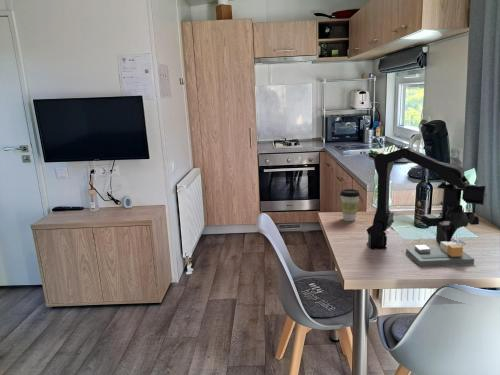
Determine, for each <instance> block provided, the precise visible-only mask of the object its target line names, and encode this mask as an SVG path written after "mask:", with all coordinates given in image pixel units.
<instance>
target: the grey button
mask: <svg viewBox="0 0 500 375" xmlns="http://www.w3.org/2000/svg"><path fill="white" fill-rule="evenodd" d="M414 248H415V250H416V251H417V252H418V253H419V254H421V253H430V248H431V247H429V246H427V245H426V244H420V245H419V244H417V245H415V246H414Z"/></svg>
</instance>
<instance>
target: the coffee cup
mask: <svg viewBox="0 0 500 375" xmlns="http://www.w3.org/2000/svg"><path fill="white" fill-rule="evenodd" d="M339 195H340V201H341V202H340V203H341V211H342V212H341V214H342V220H343V221H346V222H354V221H356V218H357V214H358V208H359V202H360V200H359V198H360V196H361V193H360V191H359V190H357V189H354V188H345V189H342V190H341V191H340V193H339Z"/></svg>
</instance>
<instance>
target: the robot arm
mask: <svg viewBox="0 0 500 375" xmlns="http://www.w3.org/2000/svg"><path fill="white" fill-rule="evenodd" d="M402 159H405V160H408V161H409V162H412V163H414V164H416V165H418V166H420V167H422V168H424V169H427V170H429V171H431V172H432V173H434V174H435V175H436V176H438V178H440V179H441V180H443V181H441V184H439V185H437V189H443V191H442V192H443V193H442V201H440V204H439V205H441V212H439V216H441V217H439V216H436V215H434V214H423V215H422V216H421V217H420V218H421V219H420V222H421V223H423V224H424V225H425V226H427V227H437V226H438V225H440V227H441V229H442V232H443V234H444V237H445V240H446V241H447V242H450V240H451V241H452V238H453V236H454V234H455V233H456V232H457V230H458V229H460V228H463V227H464V228H465V227H466V228H467V227H468V225H471V226H473V225H474V226H475V225H480V217H479V216H477V215H476V214H475V213H474V212H473V211H464V210H463V204H461V200H462V201H463V202H465V203H466V204H472V205H479V206H480V205H481V206H484V205H485V204H486V200H487V185H485V184H471V182H470V181H469V180H468V178H467V177H466V175H465V170H464V169H463V167H461V166H460V165H456V164H452V163H450V162H449V163H447V162H443V161H439V160H438V159H435V158H432V157H430V156H429V155H426V154H424V153H422V152H419V151H417V150H415V149H413V148H411V147H410V146H404V147H401V148H400V149H397V150H394V151H391V152H390V151H387V150H386V151H383V152H380V153H378V154H376V156H374V161H373V163H374V168H375V171H376V174H377V195H376V196H377V197H376V199H377V200H376V210H375V214H374V216H373V220H372V225H371V226H369V227H368V228H367V229H366V232H367V234H368V235H367V236H368V238H367V242H366V245H367V246H368V248H370V249H371V250H387V249H388V248H387V245H388V243H387V242H388V241H387V240H388V236H387V232H386V231H387V229H389V228H391V227H392V225H393V223H394V222H395V221H394V214H395V213H394V212H391V210H390V185H391V184H390V182H391V177H390V176H391V172H392V170H393V167H394V163H395V162H396V161H399V160H402ZM445 219H446V220H445Z"/></svg>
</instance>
